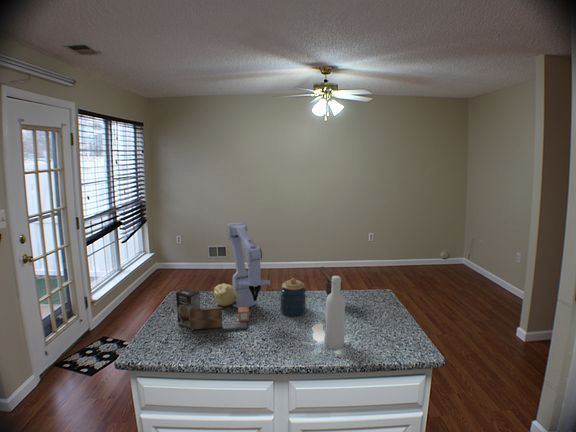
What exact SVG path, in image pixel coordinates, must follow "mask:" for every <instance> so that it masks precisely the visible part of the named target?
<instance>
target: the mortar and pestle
mask: <svg viewBox="0 0 576 432" xmlns="http://www.w3.org/2000/svg"><path fill="white" fill-rule="evenodd" d="M319 271H320V274H322V276H324V278H325V279H324V280H325V281H324V283H325V293H326V295H327V296H328V295H329V294H330V293H331V292H332V281H331V280H332V277H330V276H329V274H328V272H327V270H326V268H325V267H324V266H321V267H320V268H319ZM342 283H343V282H342V280H341V290H340V293H341V294H342V286H343V285H342Z"/></svg>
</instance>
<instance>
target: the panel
mask: <svg viewBox="0 0 576 432" xmlns="http://www.w3.org/2000/svg"><path fill="white" fill-rule="evenodd" d="M222 308H223V306H215V307H214V306H212V307H202V308H201V307H200V309H190V326H191V328H190V330H192V331H193V329H203V328H213V327H222V324H223V309H222Z"/></svg>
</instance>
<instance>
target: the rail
mask: <svg viewBox="0 0 576 432" xmlns="http://www.w3.org/2000/svg"><path fill="white" fill-rule="evenodd" d="M247 329H248V323H247V321H243V322H236V323H235V322H233V323H226V324H225V323H224V324H223V323H222V327H213V328H203V329H192V334H193V335H196V334H206V333H207V334H208V333H218V332H229V331H239V330H247Z"/></svg>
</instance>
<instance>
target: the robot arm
mask: <svg viewBox="0 0 576 432" xmlns="http://www.w3.org/2000/svg"><path fill="white" fill-rule="evenodd" d="M248 228H249V227H248V224H247V223H246V222H245V221H242V222H235V223H227V225H226V236H227V239H228V241H230V242H231V245H232V252H233V258H234V264H235V269H236V272H235V273H234V274H233V275H232V278H231V279H232V283H231V284H232V286H233V289H234V290H235V291H236V300H235V303H233V304H232V307H235V308H237V309H238V307H248V308H250V307H253V306H254V305H257V300H258V296H259V293H260V291H261V289H262V287H261V286H271V280H270V279H269V280H268V279H262V278H261V275H262V274H261V270H262V269H261V260H262V259H263V251H262V248H261V247H260V246H258V245H256V243H255V242H254V239H252V238H251V237H249V235H248V230H249V229H248ZM243 251H245V258H246V263H247V270H246V264H245V258H244V252H243Z"/></svg>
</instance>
